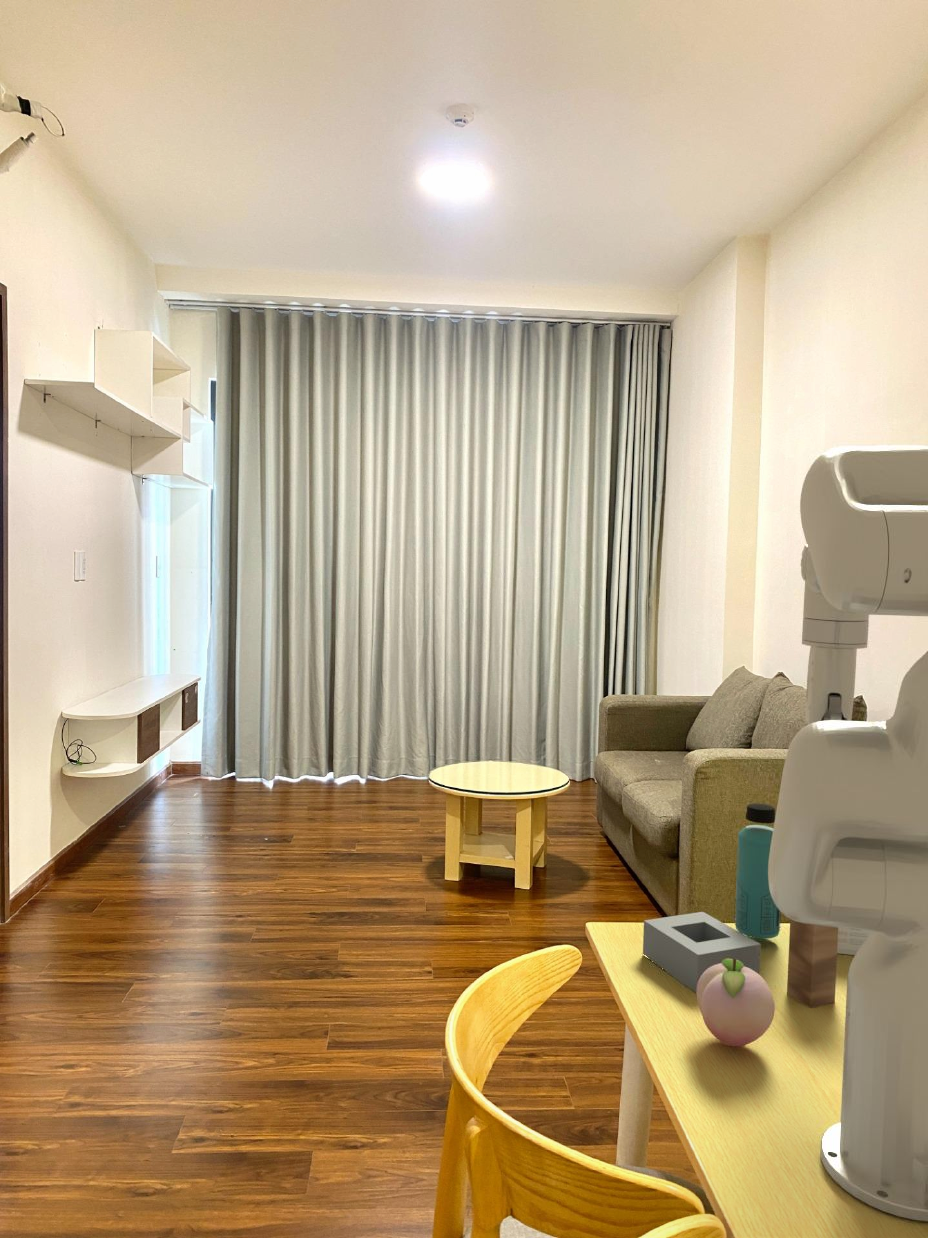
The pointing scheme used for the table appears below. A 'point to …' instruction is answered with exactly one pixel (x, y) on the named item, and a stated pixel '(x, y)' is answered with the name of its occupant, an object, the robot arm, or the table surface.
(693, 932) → the socket block
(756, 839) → the beverage bottle
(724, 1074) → the table surface
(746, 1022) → the decorative fruit
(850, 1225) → the table surface
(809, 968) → the walnut peg
